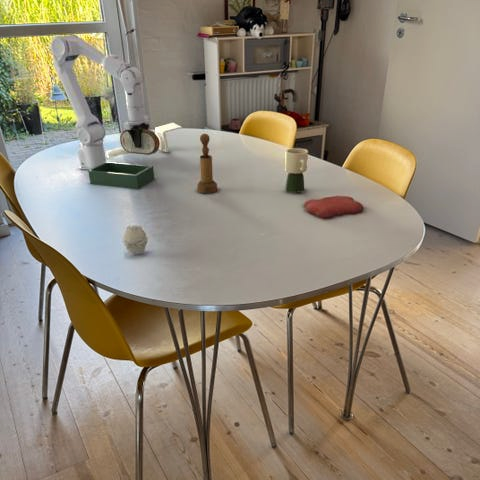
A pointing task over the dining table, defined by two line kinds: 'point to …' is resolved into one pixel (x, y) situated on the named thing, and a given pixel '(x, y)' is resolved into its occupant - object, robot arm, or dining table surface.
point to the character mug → (295, 168)
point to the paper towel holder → (160, 134)
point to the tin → (147, 142)
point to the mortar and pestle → (206, 169)
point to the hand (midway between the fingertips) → (140, 146)
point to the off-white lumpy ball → (135, 239)
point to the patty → (333, 206)
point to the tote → (121, 175)
